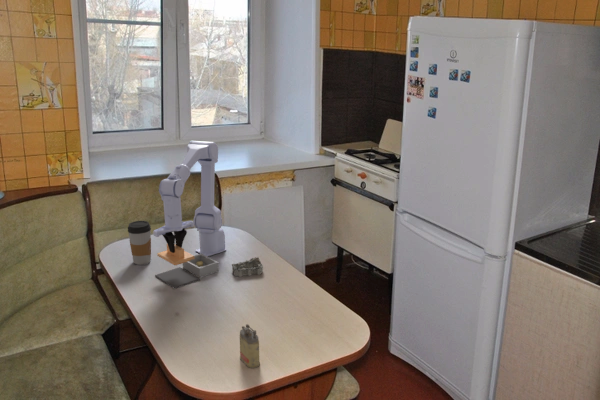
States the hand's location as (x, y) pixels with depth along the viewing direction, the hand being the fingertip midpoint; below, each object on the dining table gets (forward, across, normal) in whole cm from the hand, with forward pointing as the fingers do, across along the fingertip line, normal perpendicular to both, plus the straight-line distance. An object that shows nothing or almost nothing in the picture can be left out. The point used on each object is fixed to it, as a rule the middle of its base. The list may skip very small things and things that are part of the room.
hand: (175, 250), depth 197 cm
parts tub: (+10, +10, 0) cm, 14 cm away
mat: (+10, 0, 0) cm, 10 cm away
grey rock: (+11, +21, -12) cm, 27 cm away
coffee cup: (+10, -2, +22) cm, 24 cm away
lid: (+3, 0, 0) cm, 3 cm away
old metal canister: (+11, -13, -58) cm, 60 cm away
